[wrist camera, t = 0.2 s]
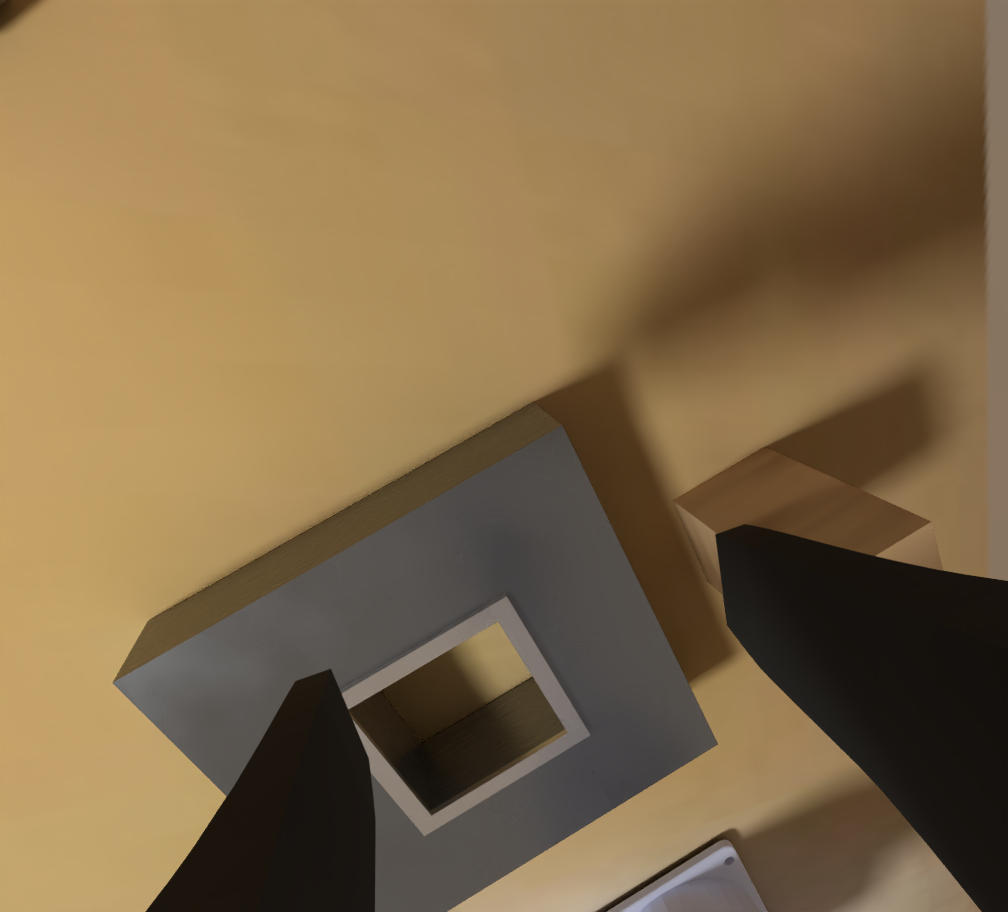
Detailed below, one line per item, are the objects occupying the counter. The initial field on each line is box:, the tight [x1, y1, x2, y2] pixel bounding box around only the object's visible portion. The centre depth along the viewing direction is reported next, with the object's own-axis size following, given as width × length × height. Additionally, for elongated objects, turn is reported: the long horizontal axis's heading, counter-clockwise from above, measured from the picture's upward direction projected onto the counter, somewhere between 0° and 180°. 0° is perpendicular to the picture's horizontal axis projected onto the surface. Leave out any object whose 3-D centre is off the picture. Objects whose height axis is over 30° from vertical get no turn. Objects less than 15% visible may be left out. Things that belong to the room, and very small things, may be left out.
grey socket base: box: [113, 403, 718, 912], centre depth 21 cm, size 14×14×3 cm
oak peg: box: [673, 447, 943, 595], centre depth 20 cm, size 4×4×7 cm
